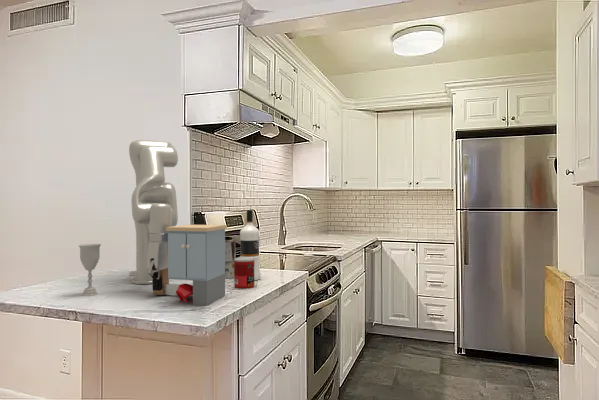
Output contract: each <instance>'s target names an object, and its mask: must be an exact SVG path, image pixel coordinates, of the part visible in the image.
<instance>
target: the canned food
mask: <svg viewBox="0 0 599 400" xmlns="http://www.w3.org/2000/svg"><path fill="white" fill-rule="evenodd" d="M233 280H234V282H233V285H234V288H236V289H243V290H244V289H245V290H246V289H251V288H254V287H255V281H254V258H240V257H236V259H234V278H233Z"/></svg>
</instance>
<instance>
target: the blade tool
mask: <svg viewBox="0 0 599 400" xmlns="http://www.w3.org/2000/svg"><path fill="white" fill-rule="evenodd" d="M155 270H156V268H155ZM155 273H156V274H157V273H158V272H155ZM160 279H161V290H160V291H157V290H153V289H152V295H158V296H159V295H161V296H164V295H171V296H172V295H174V296H178V295H177V294H176V291H177V289H178V286H179V285H181V284H182V283H170V279H168V268H166V269H162V270H161V275H160ZM191 285H192V286H193V284H191ZM190 297H193V295H191V296H190Z"/></svg>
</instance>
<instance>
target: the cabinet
mask: <svg viewBox="0 0 599 400" xmlns="http://www.w3.org/2000/svg"><path fill="white" fill-rule="evenodd" d="M226 229H228V225H227V224H183V225H176V226H172V227H166V231H168V279H169V280H176V281H177V280H178V281H181V280H182V281H192V285H193V296H192V306H209V305H211V304H212V303H214V302H217V301H218V300H220V299H222V298H224V297H225V296H226V278H225V240H226Z"/></svg>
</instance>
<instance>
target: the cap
mask: <svg viewBox="0 0 599 400" xmlns="http://www.w3.org/2000/svg"><path fill="white" fill-rule="evenodd" d="M180 284H181V285H179V286H178V289H177V291H176V294H177V295H176V296H177V297H178V298H179V301H181V302H182V301H183V300H184V302H185V303H186V304H188V303H189V300H188V298H189V297H192V296H191V295H193V286H192V285H193V284H190V283H180Z"/></svg>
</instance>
